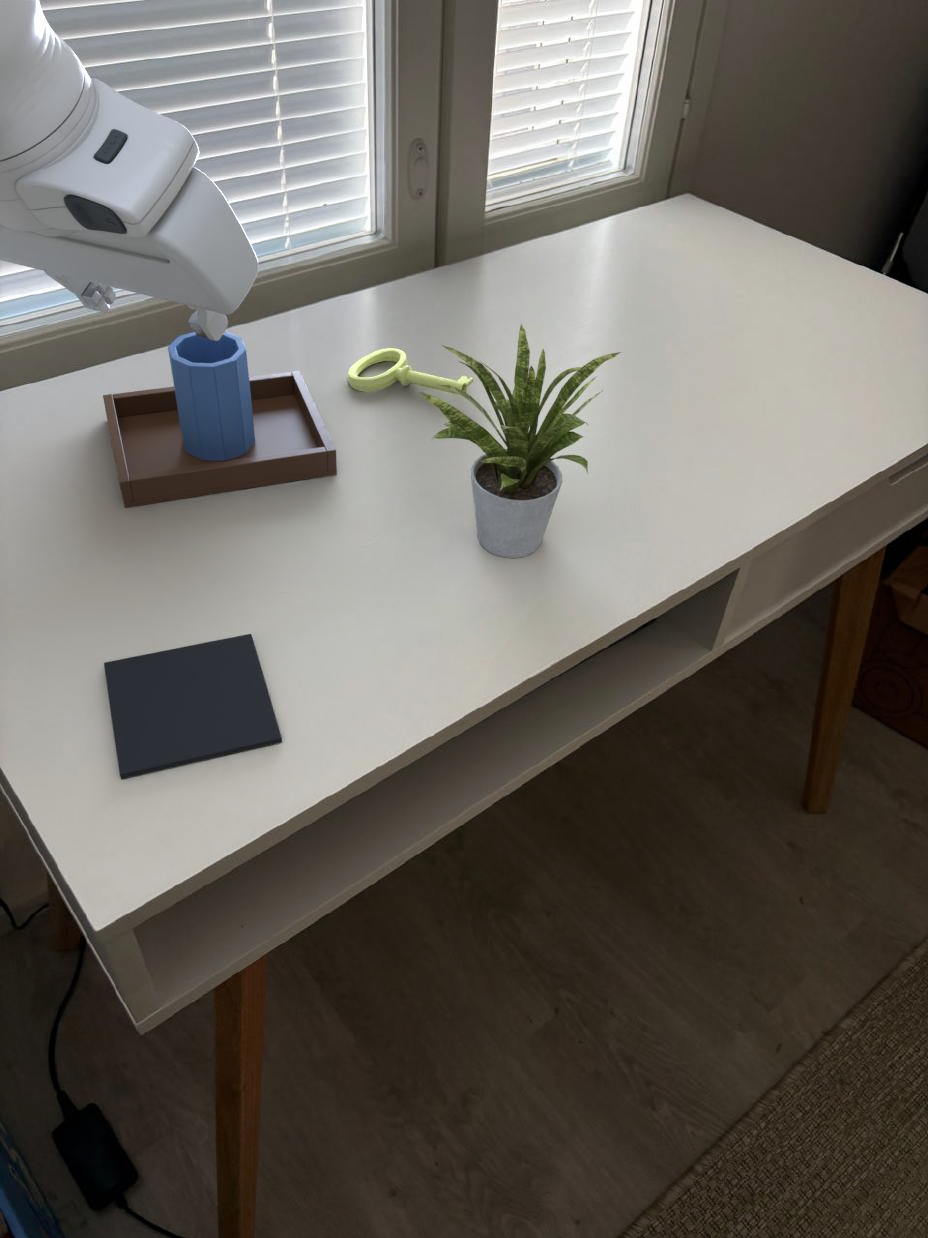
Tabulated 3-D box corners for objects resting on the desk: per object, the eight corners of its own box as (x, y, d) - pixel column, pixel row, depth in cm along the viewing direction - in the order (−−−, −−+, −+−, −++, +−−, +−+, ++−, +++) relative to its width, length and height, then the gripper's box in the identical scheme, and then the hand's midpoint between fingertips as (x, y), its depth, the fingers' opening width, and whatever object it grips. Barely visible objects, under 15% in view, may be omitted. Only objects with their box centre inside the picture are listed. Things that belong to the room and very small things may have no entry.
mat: (121, 779, 62) (119, 774, 62) (105, 667, 69) (103, 662, 68) (282, 742, 65) (281, 737, 64) (251, 638, 72) (251, 633, 71)
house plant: (532, 461, 90) (553, 285, 78) (639, 545, 82) (679, 363, 71) (397, 512, 83) (399, 329, 72) (499, 609, 75) (519, 420, 64)
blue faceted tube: (189, 466, 85) (175, 371, 79) (178, 427, 90) (163, 333, 83) (260, 455, 87) (251, 361, 81) (246, 417, 91) (236, 325, 85)
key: (468, 407, 95) (469, 387, 94) (341, 389, 97) (340, 369, 95) (480, 370, 101) (482, 351, 99) (360, 354, 102) (360, 334, 100)
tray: (124, 507, 82) (119, 482, 80) (107, 419, 91) (102, 394, 89) (337, 474, 87) (336, 449, 85) (300, 393, 96) (299, 370, 94)
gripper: (-127, 162, 58) (17, 322, 70) (156, 221, 51) (259, 387, 64) (-65, 84, 60) (64, 254, 72) (215, 131, 53) (304, 309, 65)
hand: (157, 316), depth 68 cm, fingers open, 8 cm apart
